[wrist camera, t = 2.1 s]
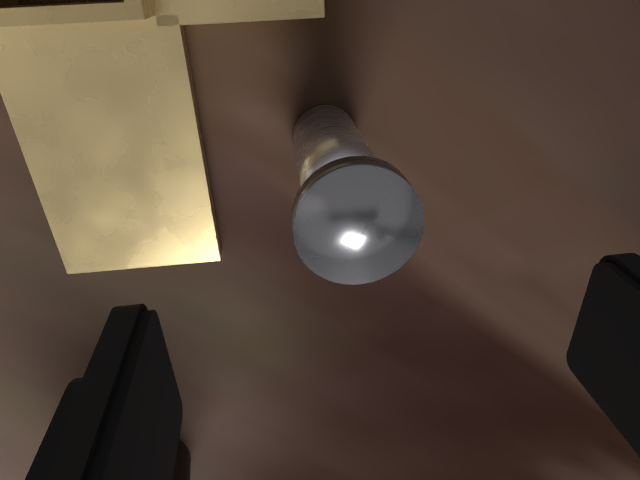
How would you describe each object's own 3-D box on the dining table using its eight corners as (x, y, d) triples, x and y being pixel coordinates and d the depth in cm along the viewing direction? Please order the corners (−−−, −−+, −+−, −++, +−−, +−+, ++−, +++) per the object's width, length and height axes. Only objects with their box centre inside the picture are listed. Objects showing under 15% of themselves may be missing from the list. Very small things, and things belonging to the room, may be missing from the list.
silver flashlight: (365, 91, 23) (428, 162, 14) (365, 172, 25) (419, 278, 16) (279, 97, 22) (288, 172, 14) (285, 178, 24) (297, 290, 16)
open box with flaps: (314, -193, 17) (323, -224, 15) (330, 241, 26) (336, 270, 24) (-86, -185, 16) (-153, -216, 14) (74, 264, 25) (52, 296, 23)
